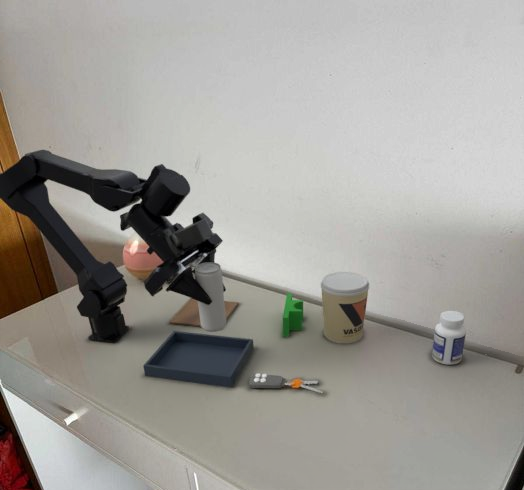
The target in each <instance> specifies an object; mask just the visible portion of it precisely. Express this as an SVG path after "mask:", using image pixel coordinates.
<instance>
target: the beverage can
mask: <svg viewBox="0 0 524 490" xmlns="http://www.w3.org/2000/svg"><path fill="white" fill-rule="evenodd" d="M194 269H195V274H194V278H195V280H196V281H197V282H198V283H199V284H200V286H201V287H202V288H203V289H204V290H205V292H206V293H207V294H208V295H209V297H210V298H211V300H212V303H211V304H209V305H207V304H204V303H202V302H200V301H198V306H199V314H200V323H201V327H200V328H202V329H203V330H204V331H206V332H211V333H214V332H219V331H222V330H223V329H224V328H225V327H226V325H227V320H226V315H225V304H224V301H225V295H224V293H225V292H224V291H223V284H224V280H223V270H222V268H221V264H220V263H218V262H215V263H213V262H207V263H202V264H199V265H197V266H196V267H194Z"/></svg>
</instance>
